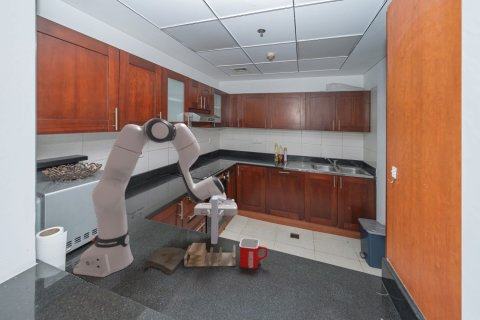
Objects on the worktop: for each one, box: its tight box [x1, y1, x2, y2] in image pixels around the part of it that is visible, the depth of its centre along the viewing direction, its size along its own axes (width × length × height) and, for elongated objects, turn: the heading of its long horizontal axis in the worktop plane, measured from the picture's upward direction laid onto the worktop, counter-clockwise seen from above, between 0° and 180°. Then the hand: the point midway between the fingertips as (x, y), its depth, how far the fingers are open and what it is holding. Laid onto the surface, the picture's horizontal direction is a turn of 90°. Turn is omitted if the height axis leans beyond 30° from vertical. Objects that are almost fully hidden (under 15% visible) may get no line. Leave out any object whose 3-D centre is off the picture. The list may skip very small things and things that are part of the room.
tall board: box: [210, 196, 219, 245], centre depth 91 cm, size 2×6×20 cm, turn 2°
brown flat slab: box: [145, 246, 187, 276], centre depth 92 cm, size 17×15×4 cm
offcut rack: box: [183, 244, 236, 267], centre depth 94 cm, size 22×10×6 cm, turn 92°
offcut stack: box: [188, 242, 208, 265], centre depth 93 cm, size 7×8×6 cm
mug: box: [239, 237, 268, 269], centre depth 91 cm, size 12×8×11 cm
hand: (214, 215), depth 90 cm, fingers closed on tall board, 2 cm apart
